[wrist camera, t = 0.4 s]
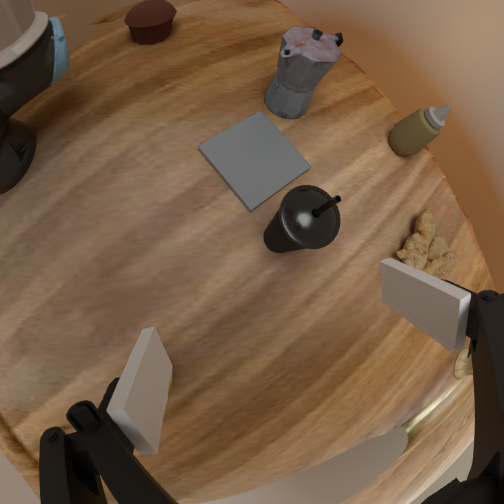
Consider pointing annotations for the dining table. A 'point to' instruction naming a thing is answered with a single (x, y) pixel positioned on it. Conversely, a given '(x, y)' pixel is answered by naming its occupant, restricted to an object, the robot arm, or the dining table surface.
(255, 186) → the slate coaster
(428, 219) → the ginger root
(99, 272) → the dining table surface
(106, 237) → the dining table surface
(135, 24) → the muffin
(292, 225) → the drinking cup
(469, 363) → the hand bell
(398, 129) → the squeeze bottle
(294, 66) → the moka pot
